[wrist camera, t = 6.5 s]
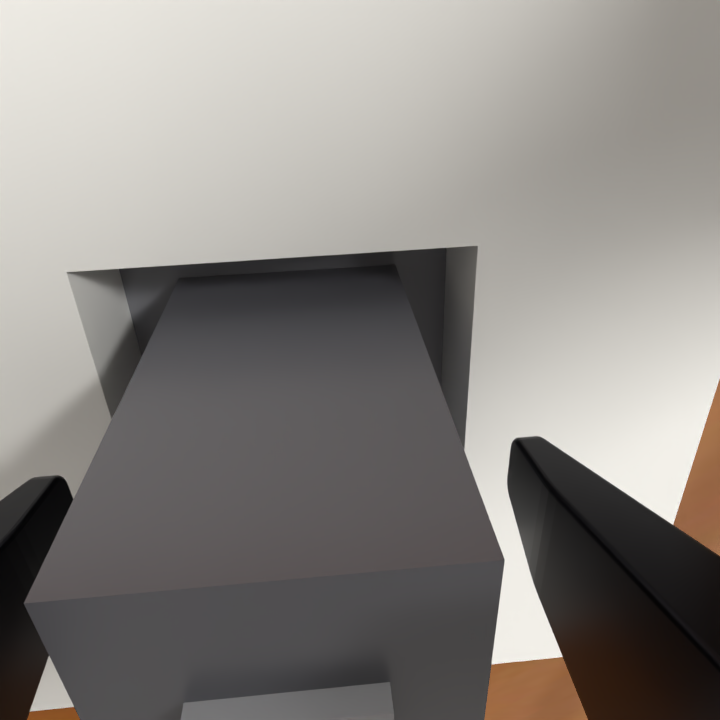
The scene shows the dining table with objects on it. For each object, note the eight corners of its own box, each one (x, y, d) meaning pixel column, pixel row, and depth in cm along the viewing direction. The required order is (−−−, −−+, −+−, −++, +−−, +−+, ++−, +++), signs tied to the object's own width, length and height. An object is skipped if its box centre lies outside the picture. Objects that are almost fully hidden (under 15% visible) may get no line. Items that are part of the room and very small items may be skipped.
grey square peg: (394, 264, 11) (515, 589, 5) (396, 434, 13) (481, 821, 7) (178, 277, 11) (7, 636, 5) (213, 449, 13) (128, 861, 7)
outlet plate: (728, -109, 9) (889, -156, 7) (582, 553, 17) (633, 649, 14) (-268, -76, 9) (-516, -116, 6) (46, 602, 16) (-3, 714, 14)
